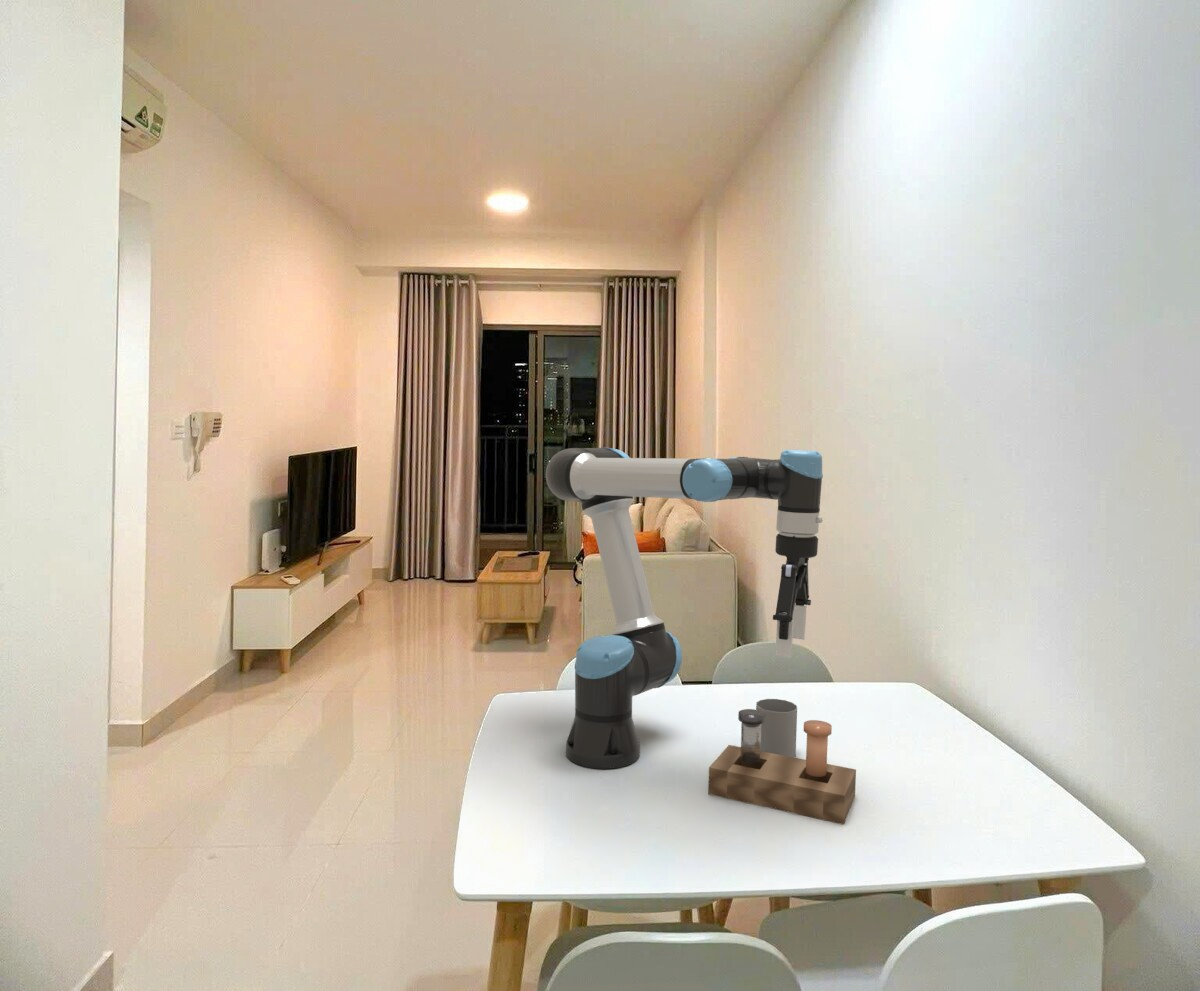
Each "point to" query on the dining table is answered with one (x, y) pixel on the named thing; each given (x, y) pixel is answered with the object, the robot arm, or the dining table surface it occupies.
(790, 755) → the cup
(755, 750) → the plug grey
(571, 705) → the dining table surface
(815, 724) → the plug terracotta
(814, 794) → the socket block
